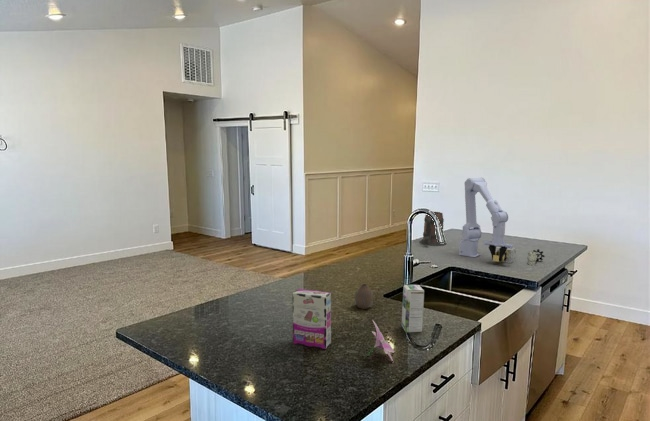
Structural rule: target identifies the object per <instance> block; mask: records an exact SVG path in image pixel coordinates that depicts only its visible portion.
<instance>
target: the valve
mask: <svg viewBox="0 0 650 421" xmlns="http://www.w3.org/2000/svg"><path fill="white" fill-rule="evenodd" d="M543 253H544V251H543V250H541V251H540V249H539V248H538V249H536V250H535V249H534V250H533V251H528V252H527V257H526V260H527V261H526V262H527V263H526V264H527V265H529V266H535V265H536V262H539V260H540V261H543V260H544V258H545V257H546V256H545V255H544V254H543Z"/></svg>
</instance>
